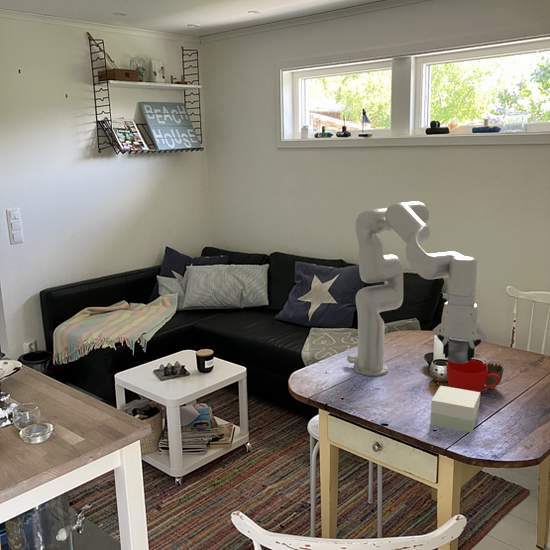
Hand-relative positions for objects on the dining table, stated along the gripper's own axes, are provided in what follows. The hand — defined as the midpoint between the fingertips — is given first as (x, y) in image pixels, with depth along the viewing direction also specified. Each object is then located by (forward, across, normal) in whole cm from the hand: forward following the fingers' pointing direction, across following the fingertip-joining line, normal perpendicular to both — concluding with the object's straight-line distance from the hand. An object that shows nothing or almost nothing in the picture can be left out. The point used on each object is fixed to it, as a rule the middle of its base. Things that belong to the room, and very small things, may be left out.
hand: (458, 357), depth 177 cm
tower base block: (+20, 0, 0) cm, 20 cm away
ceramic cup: (+20, +2, +20) cm, 28 cm away
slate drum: (+1, 0, 0) cm, 1 cm away
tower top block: (+16, 0, 0) cm, 16 cm away
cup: (+20, +7, +28) cm, 35 cm away
